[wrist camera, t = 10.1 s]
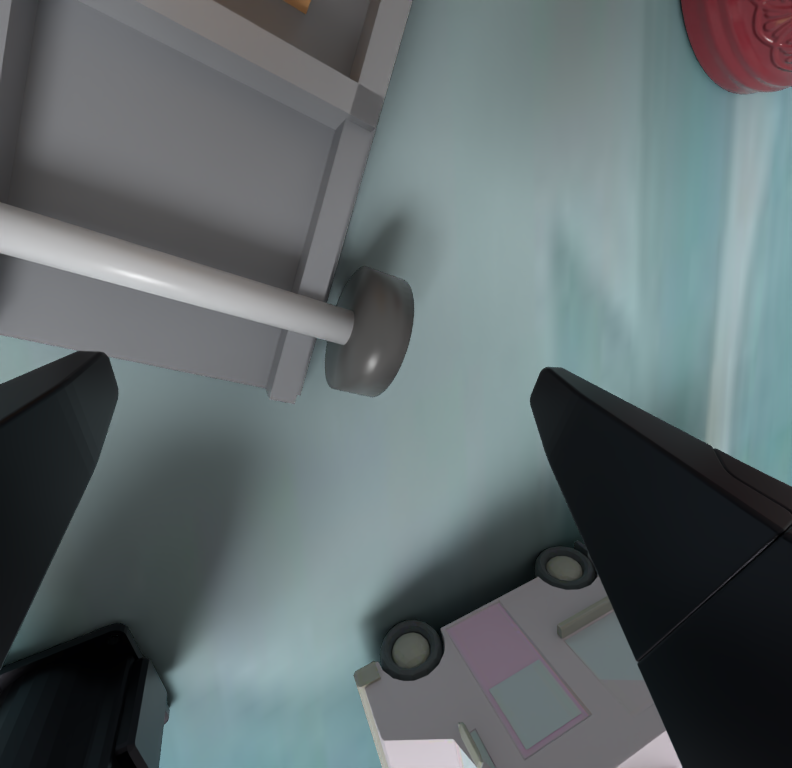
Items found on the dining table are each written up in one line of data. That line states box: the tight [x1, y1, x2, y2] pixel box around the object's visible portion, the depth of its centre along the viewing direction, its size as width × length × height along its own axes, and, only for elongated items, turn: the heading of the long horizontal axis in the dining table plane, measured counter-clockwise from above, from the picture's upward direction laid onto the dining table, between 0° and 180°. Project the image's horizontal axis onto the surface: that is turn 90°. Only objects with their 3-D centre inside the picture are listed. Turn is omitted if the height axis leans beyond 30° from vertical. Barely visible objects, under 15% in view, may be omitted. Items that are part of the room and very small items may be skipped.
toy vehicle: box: [354, 540, 682, 768], centre depth 22 cm, size 9×20×15 cm, turn 100°
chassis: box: [0, 0, 414, 404], centre depth 13 cm, size 22×17×5 cm
